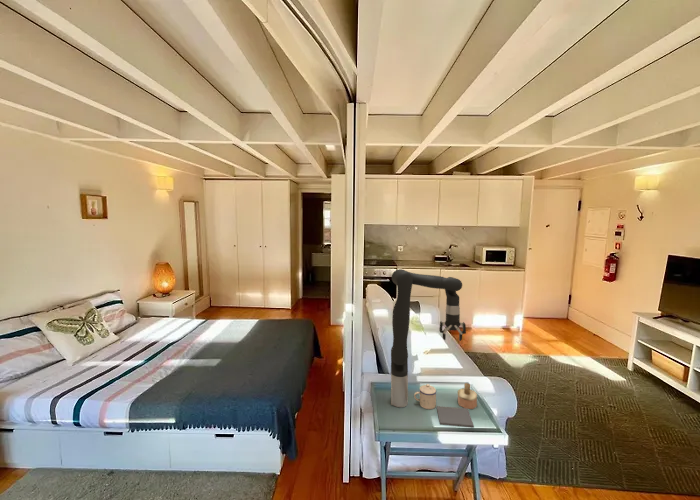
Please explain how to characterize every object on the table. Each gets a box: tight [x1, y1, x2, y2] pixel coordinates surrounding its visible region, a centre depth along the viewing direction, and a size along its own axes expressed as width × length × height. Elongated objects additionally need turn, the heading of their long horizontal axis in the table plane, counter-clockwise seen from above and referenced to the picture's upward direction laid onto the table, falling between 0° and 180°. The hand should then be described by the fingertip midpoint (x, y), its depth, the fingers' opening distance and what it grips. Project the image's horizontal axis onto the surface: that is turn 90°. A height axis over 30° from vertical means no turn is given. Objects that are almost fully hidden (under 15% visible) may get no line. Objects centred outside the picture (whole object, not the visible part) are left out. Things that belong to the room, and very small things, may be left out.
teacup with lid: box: [413, 383, 437, 410], centre depth 169 cm, size 12×9×12 cm
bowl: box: [457, 395, 478, 410], centre depth 169 cm, size 9×9×5 cm
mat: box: [436, 405, 475, 428], centre depth 158 cm, size 16×14×1 cm
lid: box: [457, 382, 478, 401], centre depth 169 cm, size 10×10×6 cm
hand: (452, 340), depth 176 cm, fingers open, 8 cm apart
